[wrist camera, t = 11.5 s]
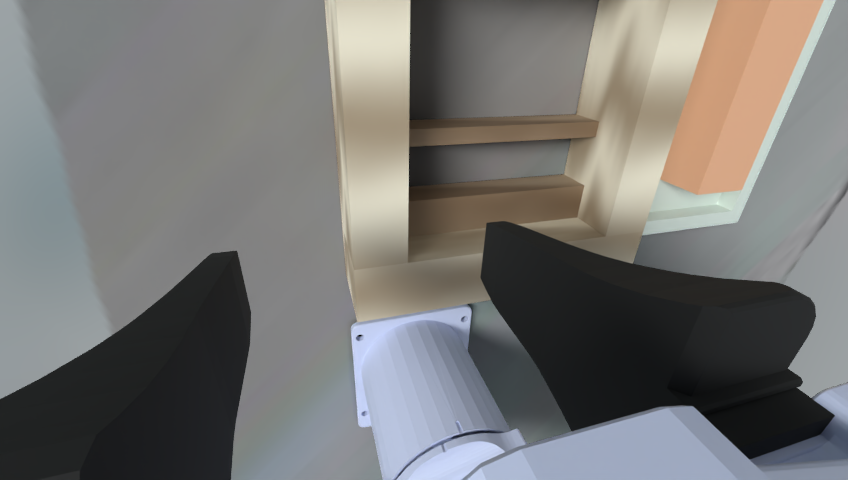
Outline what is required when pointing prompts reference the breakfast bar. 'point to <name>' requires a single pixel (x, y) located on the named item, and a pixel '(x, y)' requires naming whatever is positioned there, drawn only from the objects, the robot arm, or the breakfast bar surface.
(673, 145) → the slab
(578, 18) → the breakfast bar surface
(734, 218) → the tray
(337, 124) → the block
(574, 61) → the breakfast bar surface
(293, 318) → the breakfast bar surface
